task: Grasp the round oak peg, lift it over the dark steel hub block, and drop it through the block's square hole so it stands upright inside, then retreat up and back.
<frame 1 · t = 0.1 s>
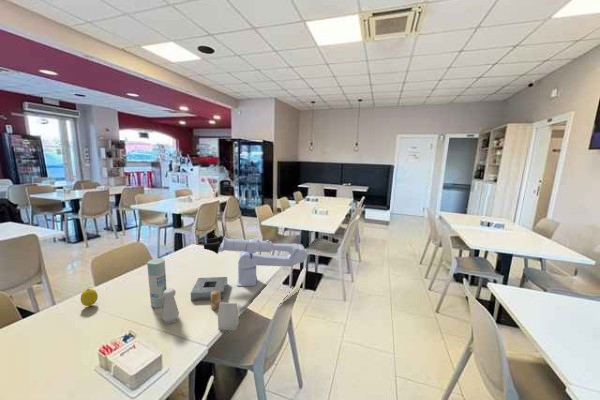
hand: (205, 243, 125), 22 cm above the table, tool horizontal, fingers open, 7 cm apart
spray paint can: (159, 304, 111), on the table
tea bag: (228, 327, 98), on the table
steel hub block: (210, 292, 121), on the table
lemon: (90, 306, 108), on the table
salt shaker: (171, 320, 100), on the table
oak peg: (216, 307, 109), on the table
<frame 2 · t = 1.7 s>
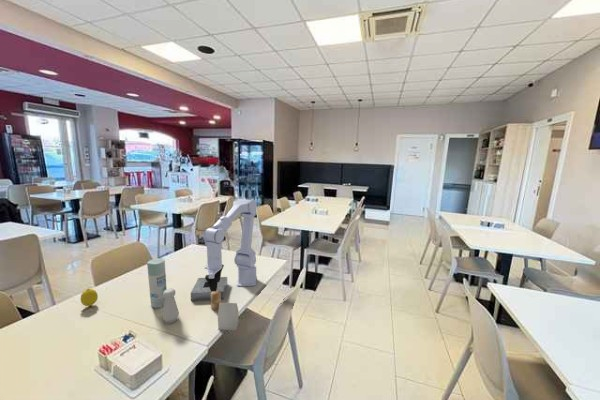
hand: (215, 286, 108), 10 cm above the table, tool pointing down, fingers open, 7 cm apart
nothing on the table moved.
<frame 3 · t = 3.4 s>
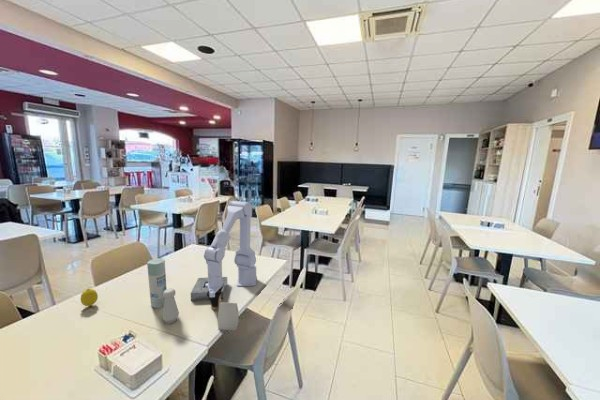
hand: (216, 303, 109), 2 cm above the table, tool pointing down, fingers closed on oak peg, 4 cm apart
oak peg: (216, 307, 109), on the table, touching gripper
everything else where it was.
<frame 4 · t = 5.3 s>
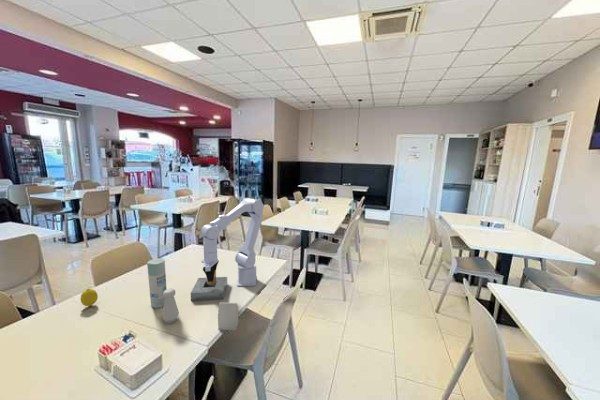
hand: (211, 278, 116), 9 cm above the table, tool pointing down, fingers closed on oak peg, 4 cm apart
oak peg: (211, 282, 116), point 7 cm above the table, touching gripper
everything else where it was.
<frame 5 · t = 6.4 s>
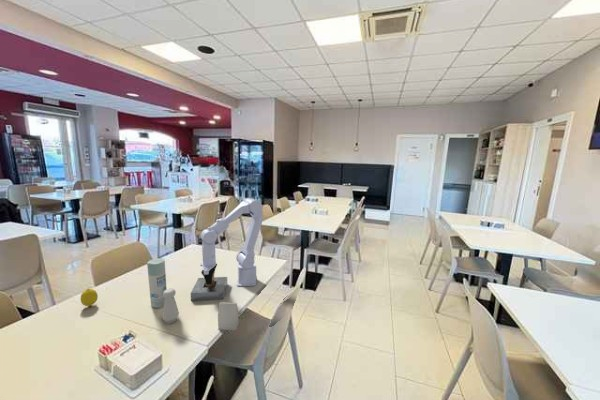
hand: (210, 281, 120), 5 cm above the table, tool pointing down, fingers closed on oak peg, 4 cm apart
oak peg: (210, 285, 121), point 3 cm above the table, touching gripper
everything else where it was.
when the fingers open (5 cm above the table, at t = 7.1 s): oak peg drops 3 cm, resting in steel hub block.
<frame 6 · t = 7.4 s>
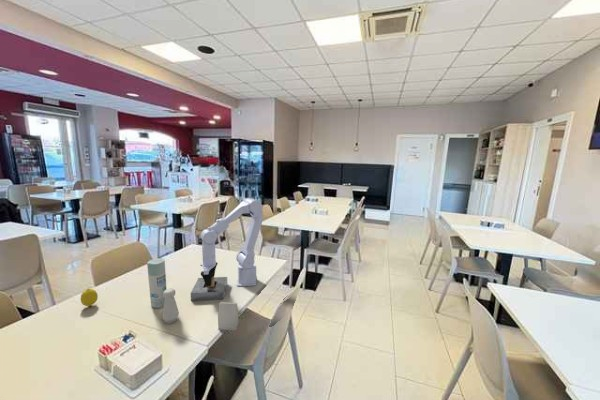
hand: (210, 281, 120), 5 cm above the table, tool pointing down, fingers open, 7 cm apart
oak peg: (210, 292, 121), resting in steel hub block
everything else where it was.
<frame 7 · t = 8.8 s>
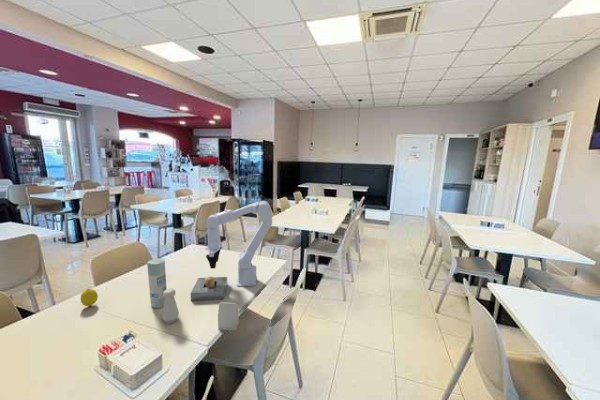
hand: (214, 264, 127), 10 cm above the table, tool pointing down, fingers open, 7 cm apart
nothing on the table moved.
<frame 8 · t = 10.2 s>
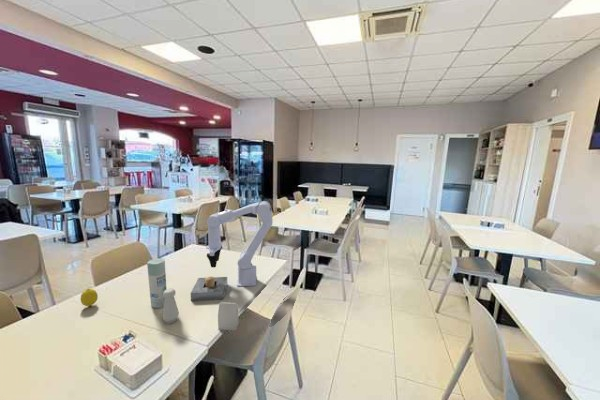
hand: (215, 263, 128), 10 cm above the table, tool pointing down, fingers open, 7 cm apart
nothing on the table moved.
at the end: oak peg 0.0 cm off-centre on the steel hub block, point 0.0 cm above the steel hub block's base; oak peg tilted 0°; the gripper is holding nothing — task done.
